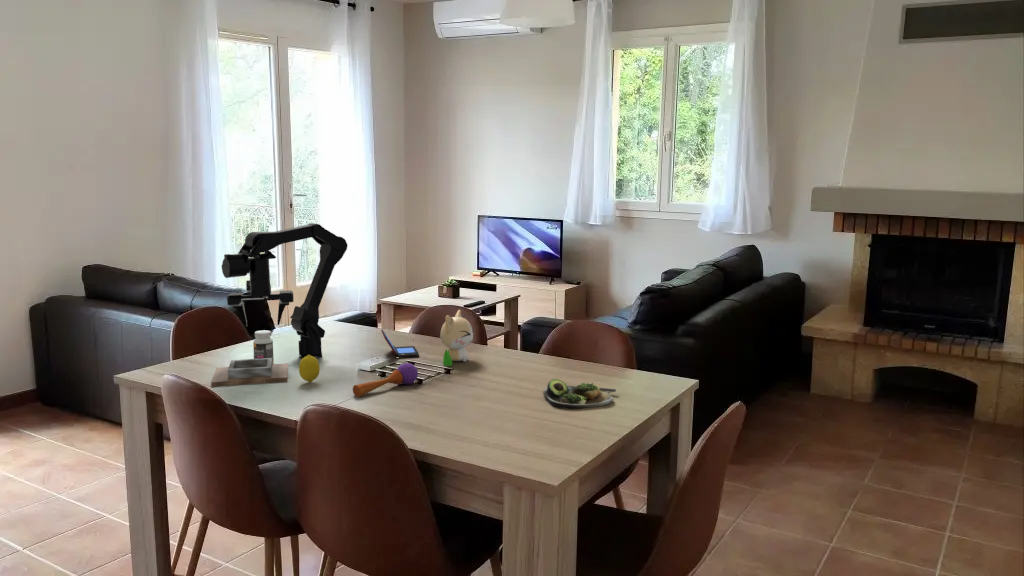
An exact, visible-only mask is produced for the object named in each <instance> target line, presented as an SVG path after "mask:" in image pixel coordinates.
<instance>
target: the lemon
mask: <svg viewBox="0 0 1024 576" xmlns="http://www.w3.org/2000/svg"><path fill="white" fill-rule="evenodd" d="M320 367H321V366H320V363H319V360H318V359H317V357H313V356H311V355H307V356H306V357H304V358H301V360H300V361H299V366H298V372H299V376H300V377H301V379H302V380H303V381H306V382H307V383H309V384H311V383H312V382H313V381H314V380H316V379H317V378H318V377H319V375H320V371H321V370H320V369H321V368H320Z"/></svg>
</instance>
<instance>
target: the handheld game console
mask: <svg viewBox="0 0 1024 576" xmlns="http://www.w3.org/2000/svg"><path fill="white" fill-rule="evenodd" d="M381 333H382V335H383V338H384V339H385V341H386V343H387V345H388V346H389V347H390V348H391V351H392V353H393V355H394V357H399V358H398V359H410V358H411V359H412V358H419V357H420V354H419V351H418V350H417V348H416V347H415V346H413V345H409V346H408V345H407V346H395V345H394V344H393V343H392V342H391V341H390V339H389V337H388V336H387V334H386V333H385V331H384V329H381Z"/></svg>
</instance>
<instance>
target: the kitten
mask: <svg viewBox="0 0 1024 576" xmlns="http://www.w3.org/2000/svg"><path fill="white" fill-rule="evenodd" d="M444 320H445V322H444V323H443V324H442V325H441V329H440V335H439V336H440V340H441V343H442V344H443V345H444V346H445V347H447V348H446V349H445V351H444V354H443V359H442V364H443V366H445V367H452V366H453V362H461V361H462V362H463V363H466V362H467V361H468V360H469V353H468V352H467V350H466V348H467V347H468V346H469V345H470V344H471V343H472V341H473V338H474V333H475V331H474V328H473V327H472V325H471V323H470V322H469V321H468V320H467V319H466V318H465V317H462V311H461V309H458V310H457V312H455V316H452V317H451V316H450V315H448V314H447V315H446V316H445V318H444Z"/></svg>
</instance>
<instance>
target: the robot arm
mask: <svg viewBox="0 0 1024 576" xmlns="http://www.w3.org/2000/svg"><path fill="white" fill-rule="evenodd" d="M310 238H312V239H313V240H314V241H315V242H316V243H317V244H318V245H319V246H320V248H319V263H318V265H317V267H316V270H315V272H314V276H313V278H312V281H311V283H310V286H309V289H308V291H307V293H306V296H305V298H304V302H303V303H302V304H301V305H300V306H298V305H296V306H295V307H294V308H293V311H292V312H293V313H292V315H291V316H290V317H289V318H290V319H291V321H290V325H291V327H292V329H293V330H294V331H295V332H296V334H297V336H300V337H299V338H300V340H298V355H299V356H300V359H303V358H304V357H306V356H307V355H311V356H313V357H315V358H322V357H323V351H322V338H324V337H325V334H326V330H325V329H324V328H323V327H321V325H319V319H320V310H319V309H320V305H321V303H322V300H323V297H324V294H325V292H326V290H327V287H328V284H329V281H330V280H331V276H332V275H333V274H332V273H333V271H334V268H335V266H336V265H337V264H338V263H339V262H340V261H341V259H342V258H343V257H344V255H345V253H346V252H347V250H348V243H347V240H346V239H345V238H344V237H342V236H338V235H336V234H334V233H333V232H331V231H330V230H328V229H326V228H325V227H323V225H321V224H319V223H313V222H311V223H308V224H305V225H299V226H296V227H291V228H285V229H281V230H277V231H252V232H249V233H247V235H246V237H245V239H244V243H243V245H242V246H241V248H240V249H239V251H238V252H237V253H233V254H231V253H227V254H226V253H225V254H224V256H223V257H224V258H223V260H222V263H221V271H222V274H223V276H224V278H226V279H229V278H238V277H239V278H240V277H246V276H247V275H248V274H249V280H246V281H245V282H246V283H245V284H246V286H245V288H246V292H250V294H243V292H230V293H229V294H228V295H227V298H226V302H227V303H226V304H227V305H228V306H232V308H233V309H236V310H237V313H238V314H239V315H240V317H241V320H242V322H243V324H244V327H245V328H247V327H248V320H247V315H246V310H245V302H260V301H279V302H278V310H277V311H278V312H277V326H280V323H281V319H282V316H283V313H284V311H285V309H286V306H289V305H290V303H294V292H293V290H291V289H290V290H280V291H279V293H272V285H271V276H270V274H271V272H270V260H272V259H273V260H275V259H276V258H277V256H276V255H275V254H273V253H272V251H271V250H274V249H275V248H277V247H278V246H281V245H283V244H288V243H292V242H298V241H301V240H306V239H310Z"/></svg>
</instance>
